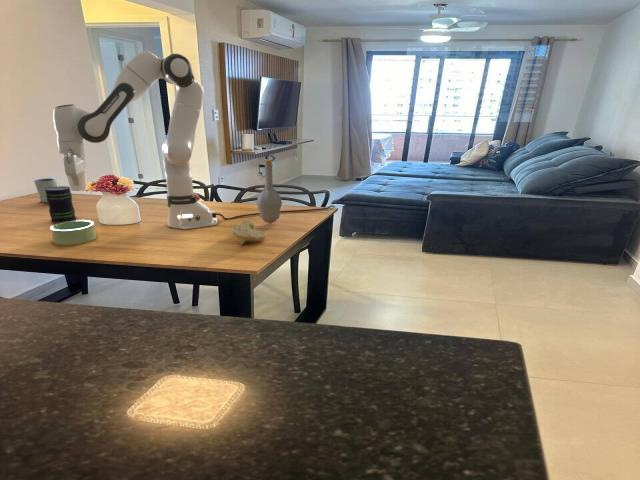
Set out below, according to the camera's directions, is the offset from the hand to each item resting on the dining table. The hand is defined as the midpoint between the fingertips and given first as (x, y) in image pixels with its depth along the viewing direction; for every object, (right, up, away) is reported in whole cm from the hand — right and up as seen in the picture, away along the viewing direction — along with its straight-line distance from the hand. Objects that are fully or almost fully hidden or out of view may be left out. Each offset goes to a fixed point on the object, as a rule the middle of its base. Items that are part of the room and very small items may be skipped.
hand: (78, 183), depth 152 cm
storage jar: (-24, -13, +27) cm, 39 cm away
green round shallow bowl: (-2, -22, +1) cm, 22 cm away
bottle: (+73, -15, +28) cm, 80 cm away
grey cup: (-56, -1, +62) cm, 83 cm away
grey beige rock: (+68, -24, +1) cm, 72 cm away
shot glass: (0, -2, +1) cm, 2 cm away
